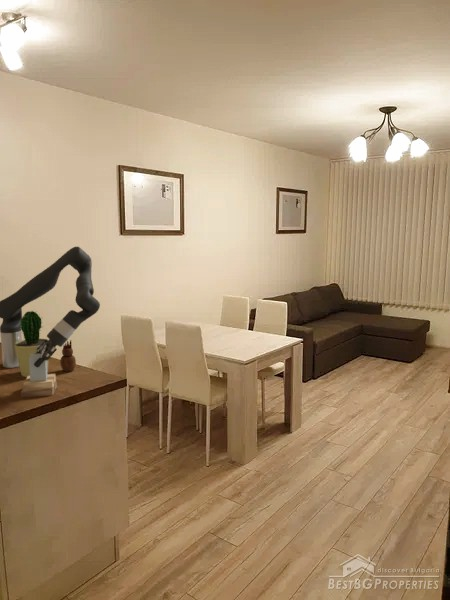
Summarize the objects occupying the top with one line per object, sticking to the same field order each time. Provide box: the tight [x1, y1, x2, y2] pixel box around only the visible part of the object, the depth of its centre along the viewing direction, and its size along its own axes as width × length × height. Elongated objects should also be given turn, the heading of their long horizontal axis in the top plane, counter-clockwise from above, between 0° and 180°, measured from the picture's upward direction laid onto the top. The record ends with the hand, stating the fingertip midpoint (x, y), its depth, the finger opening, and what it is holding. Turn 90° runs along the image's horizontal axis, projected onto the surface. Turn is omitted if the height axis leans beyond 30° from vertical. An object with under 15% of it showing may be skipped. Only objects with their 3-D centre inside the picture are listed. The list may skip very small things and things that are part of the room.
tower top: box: [22, 373, 57, 391], centre depth 188 cm, size 11×11×3 cm
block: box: [29, 353, 49, 382], centre depth 186 cm, size 6×6×10 cm
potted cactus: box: [14, 310, 50, 378], centre depth 209 cm, size 15×15×30 cm
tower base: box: [20, 379, 58, 398], centre depth 188 cm, size 12×12×3 cm
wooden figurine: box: [59, 339, 77, 373], centre depth 214 cm, size 7×6×15 cm
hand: (33, 363), depth 185 cm, fingers open, 8 cm apart
